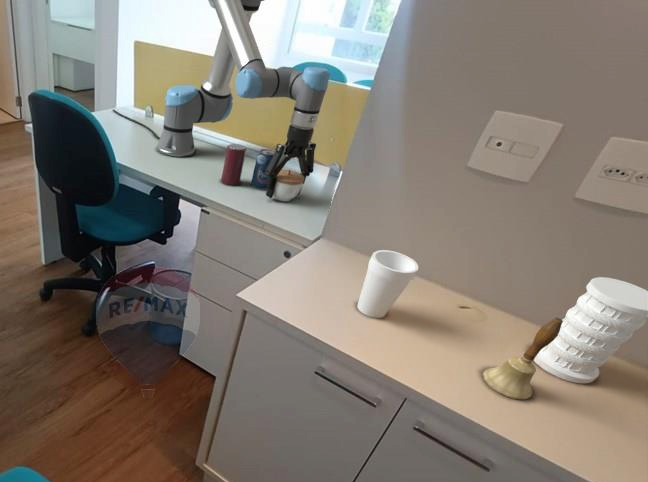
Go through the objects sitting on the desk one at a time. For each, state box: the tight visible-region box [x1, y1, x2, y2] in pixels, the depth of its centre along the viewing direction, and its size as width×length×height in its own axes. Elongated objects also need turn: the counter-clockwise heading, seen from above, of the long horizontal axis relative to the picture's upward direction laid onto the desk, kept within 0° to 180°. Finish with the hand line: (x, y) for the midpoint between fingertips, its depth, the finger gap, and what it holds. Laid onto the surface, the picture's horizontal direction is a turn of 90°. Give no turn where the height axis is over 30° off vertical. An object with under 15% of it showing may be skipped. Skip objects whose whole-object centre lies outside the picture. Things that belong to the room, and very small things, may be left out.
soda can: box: [250, 148, 276, 191], centre depth 154 cm, size 7×7×12 cm
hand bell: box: [482, 317, 563, 400], centre depth 82 cm, size 8×8×16 cm
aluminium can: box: [220, 143, 247, 187], centre depth 155 cm, size 7×7×12 cm
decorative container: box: [533, 276, 648, 384], centre depth 87 cm, size 12×12×18 cm
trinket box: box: [272, 168, 306, 202], centre depth 148 cm, size 11×11×9 cm
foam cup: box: [356, 249, 419, 319], centre depth 99 cm, size 10×9×13 cm
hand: (282, 194), depth 151 cm, fingers closed on trinket box, 11 cm apart
